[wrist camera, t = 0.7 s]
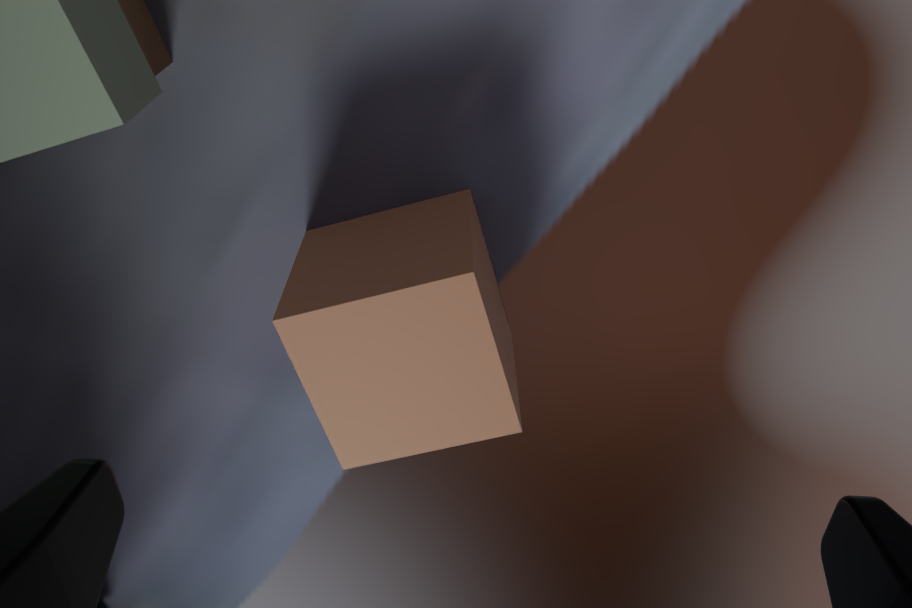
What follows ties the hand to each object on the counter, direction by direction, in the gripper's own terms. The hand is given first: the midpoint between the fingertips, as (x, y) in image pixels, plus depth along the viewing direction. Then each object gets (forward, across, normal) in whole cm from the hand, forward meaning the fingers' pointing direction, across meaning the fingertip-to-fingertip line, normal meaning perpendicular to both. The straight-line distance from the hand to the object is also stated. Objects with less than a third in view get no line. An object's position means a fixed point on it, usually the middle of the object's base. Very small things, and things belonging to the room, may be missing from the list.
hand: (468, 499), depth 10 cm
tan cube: (+13, +2, +5) cm, 15 cm away
